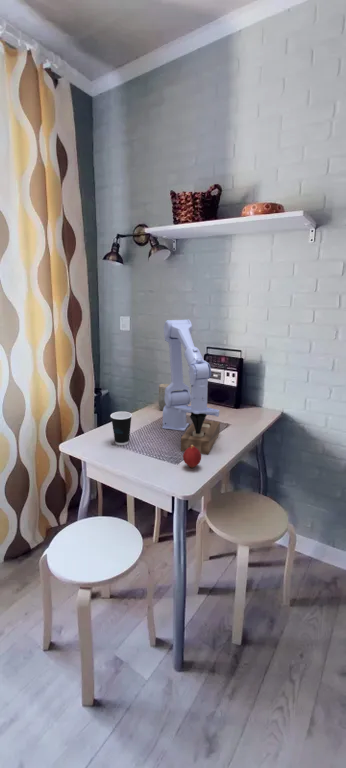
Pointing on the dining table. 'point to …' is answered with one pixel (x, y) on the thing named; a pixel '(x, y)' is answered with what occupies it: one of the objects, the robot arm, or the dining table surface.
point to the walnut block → (204, 442)
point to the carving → (162, 396)
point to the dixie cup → (121, 427)
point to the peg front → (198, 434)
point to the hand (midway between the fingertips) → (198, 432)
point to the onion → (192, 456)
